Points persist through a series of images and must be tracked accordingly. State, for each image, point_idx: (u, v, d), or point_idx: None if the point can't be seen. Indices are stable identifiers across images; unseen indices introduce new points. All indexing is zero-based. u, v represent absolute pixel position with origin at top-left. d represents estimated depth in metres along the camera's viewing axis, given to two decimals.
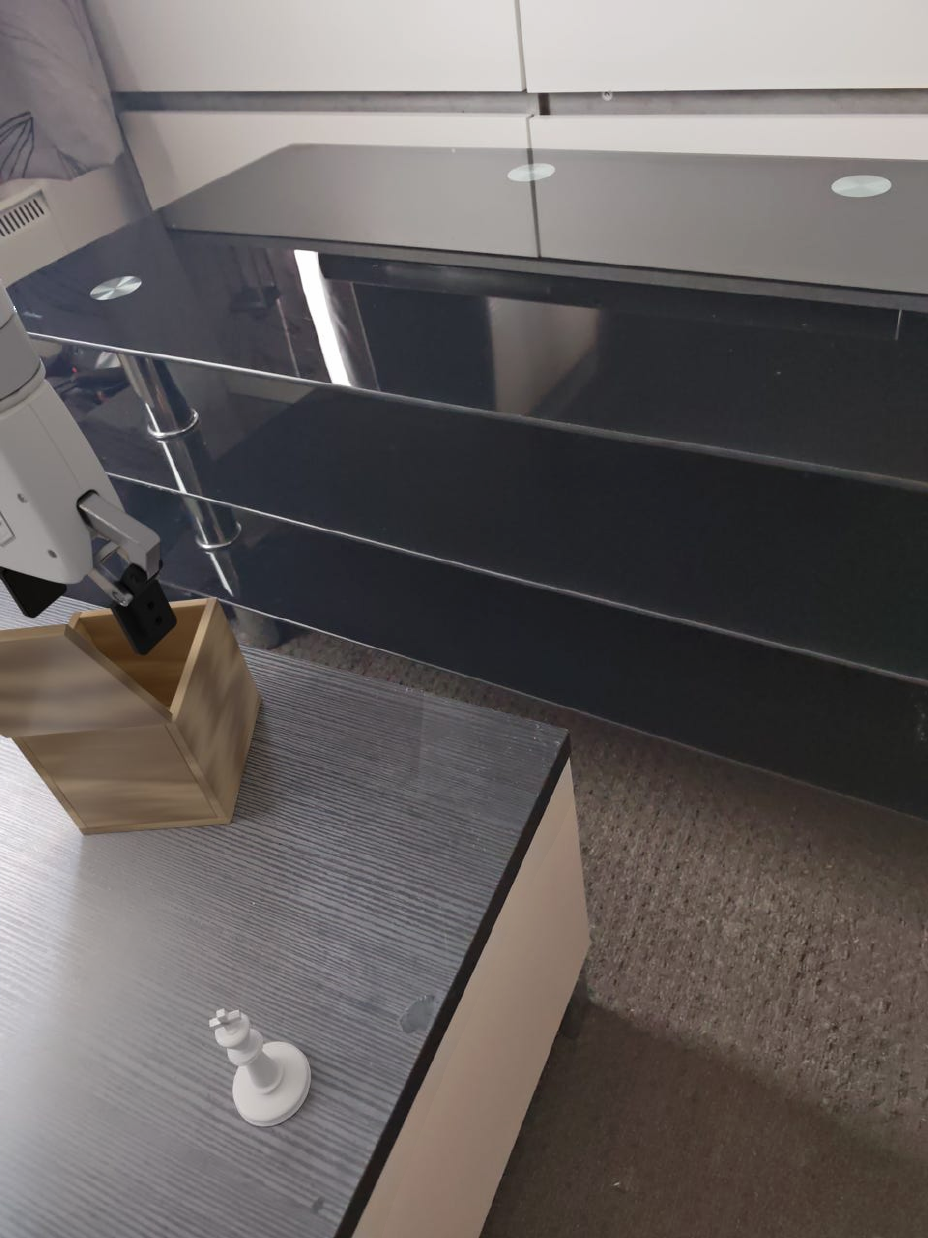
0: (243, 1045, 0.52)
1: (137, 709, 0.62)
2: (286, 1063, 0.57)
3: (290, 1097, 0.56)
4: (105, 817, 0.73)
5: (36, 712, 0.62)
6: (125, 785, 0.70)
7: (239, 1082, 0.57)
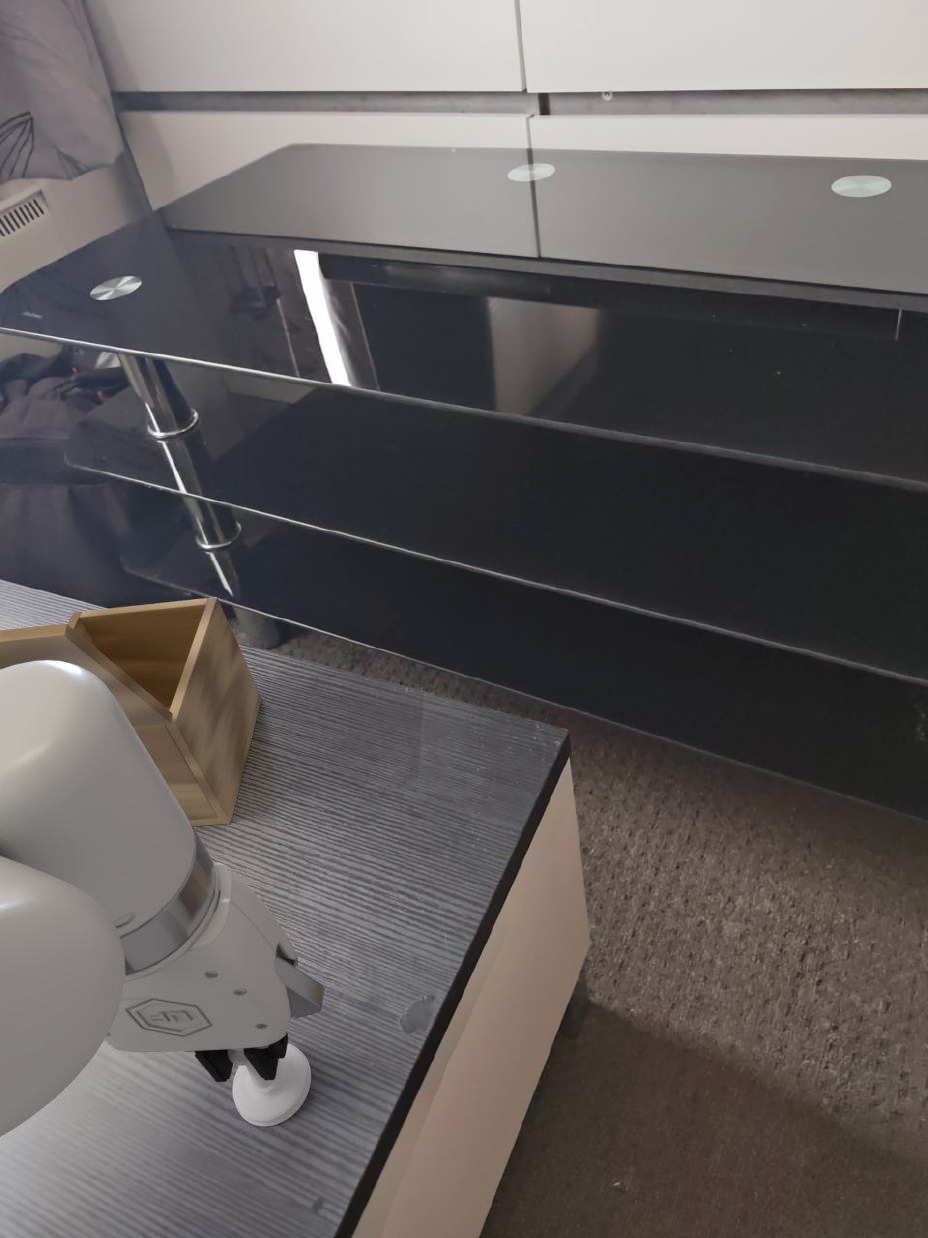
0: None
1: (137, 709, 0.62)
2: (286, 1063, 0.57)
3: (290, 1097, 0.56)
4: None
5: None
6: None
7: (239, 1082, 0.57)
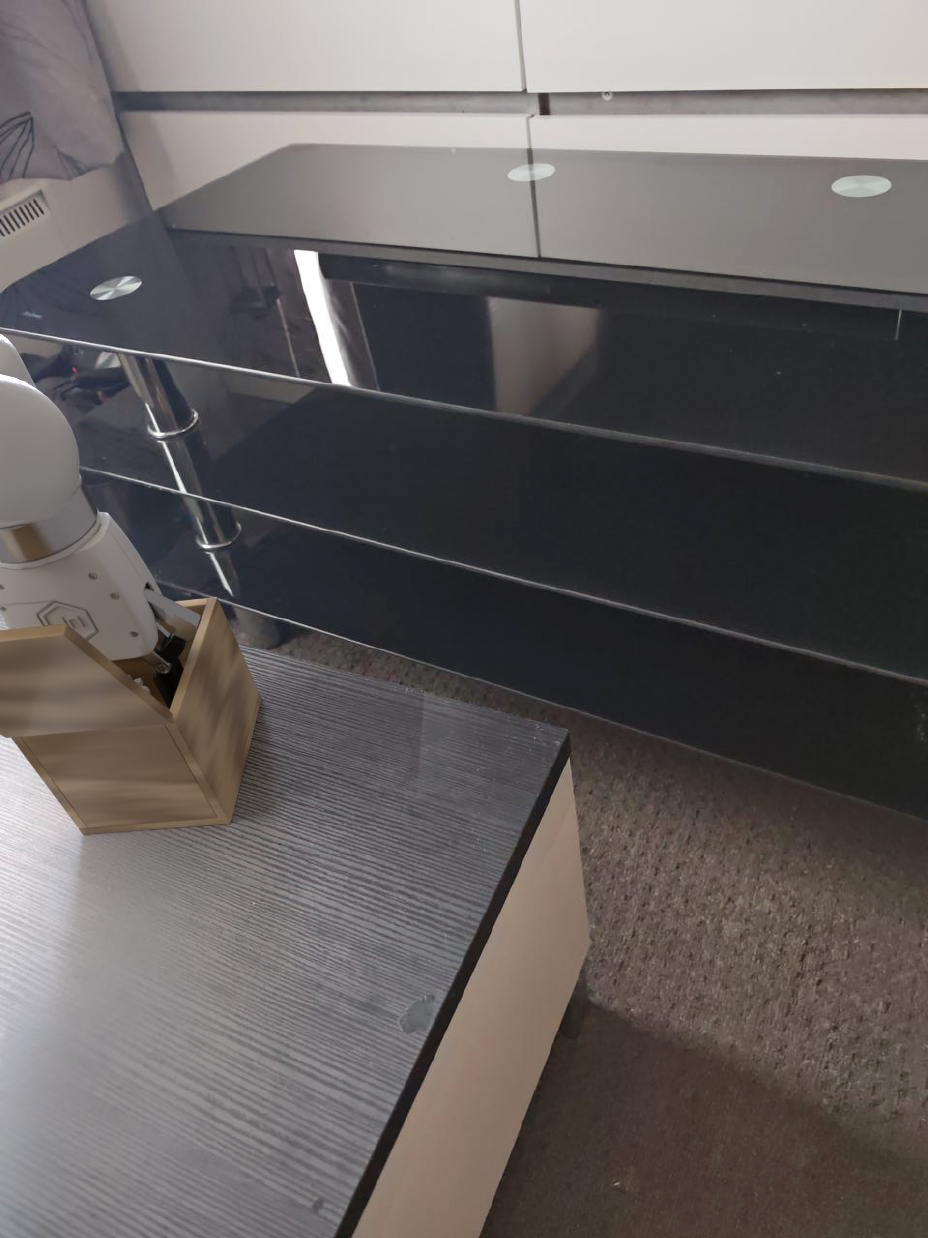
0: None
1: (137, 709, 0.62)
2: None
3: None
4: (105, 817, 0.73)
5: (36, 712, 0.62)
6: (125, 785, 0.70)
7: None
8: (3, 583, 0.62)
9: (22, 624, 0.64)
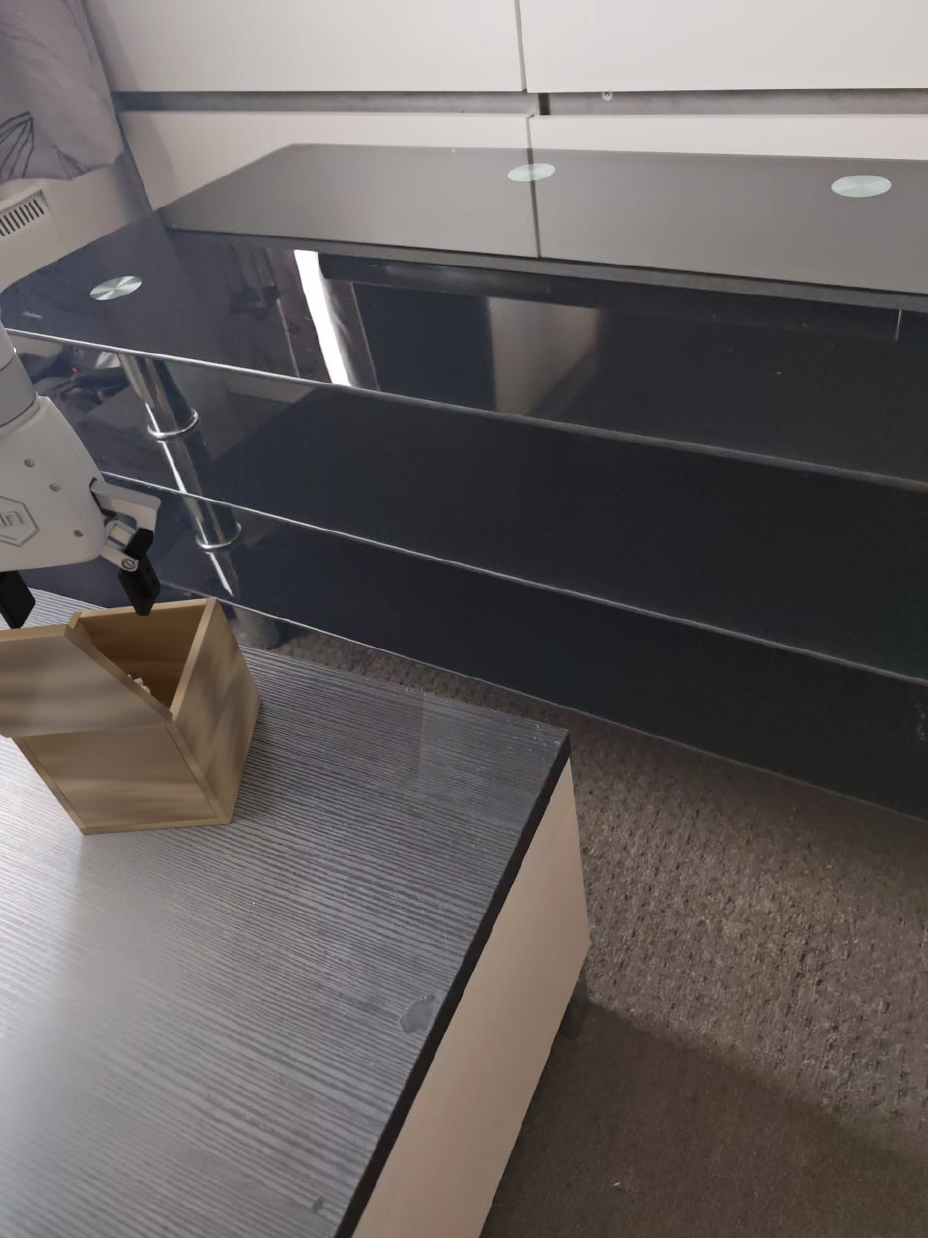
0: None
1: (137, 709, 0.62)
2: None
3: None
4: (105, 817, 0.73)
5: (36, 712, 0.62)
6: (125, 785, 0.70)
7: None
8: None
9: None
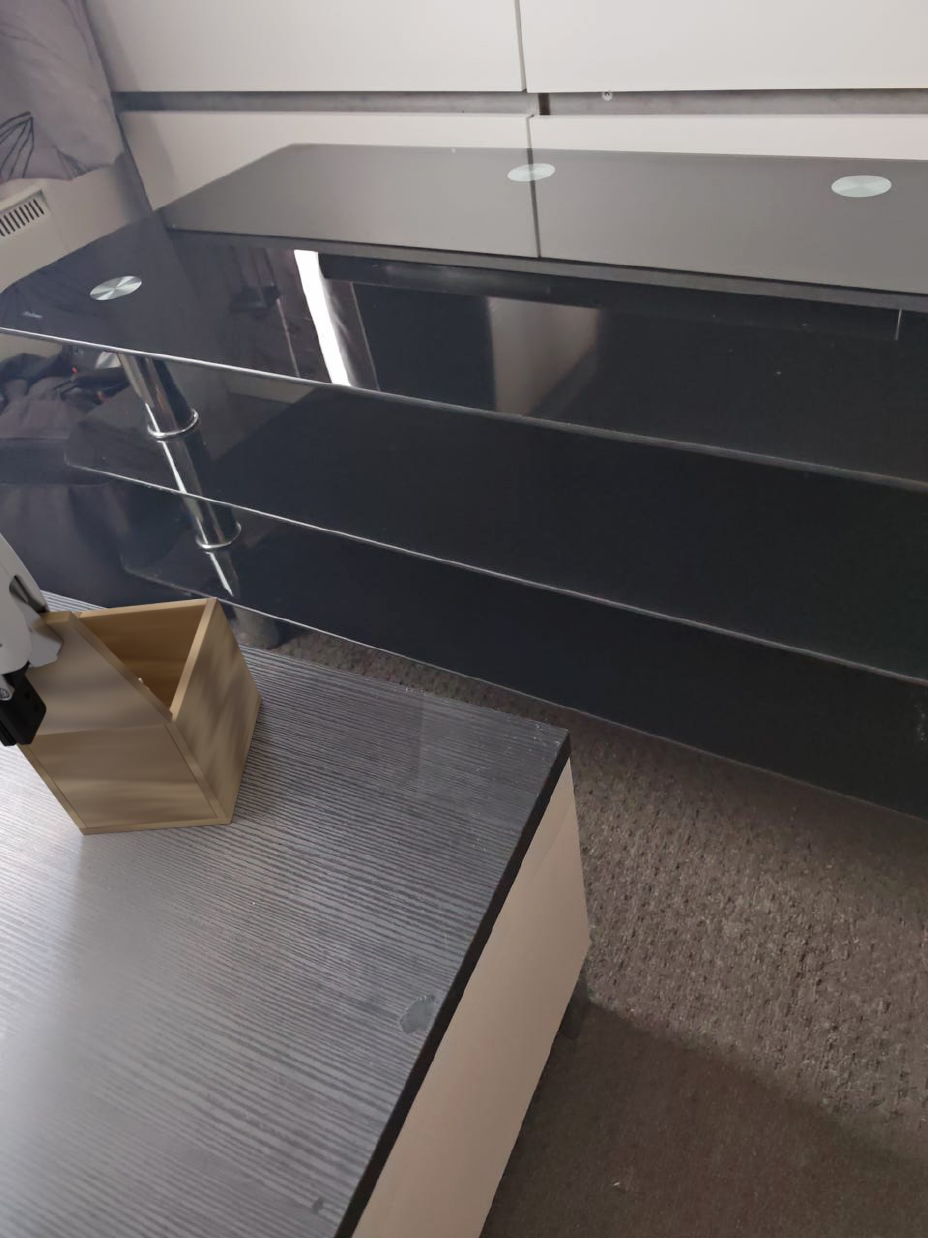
0: None
1: (137, 706, 0.62)
2: None
3: None
4: (105, 817, 0.73)
5: None
6: (125, 785, 0.70)
7: None
8: None
9: None
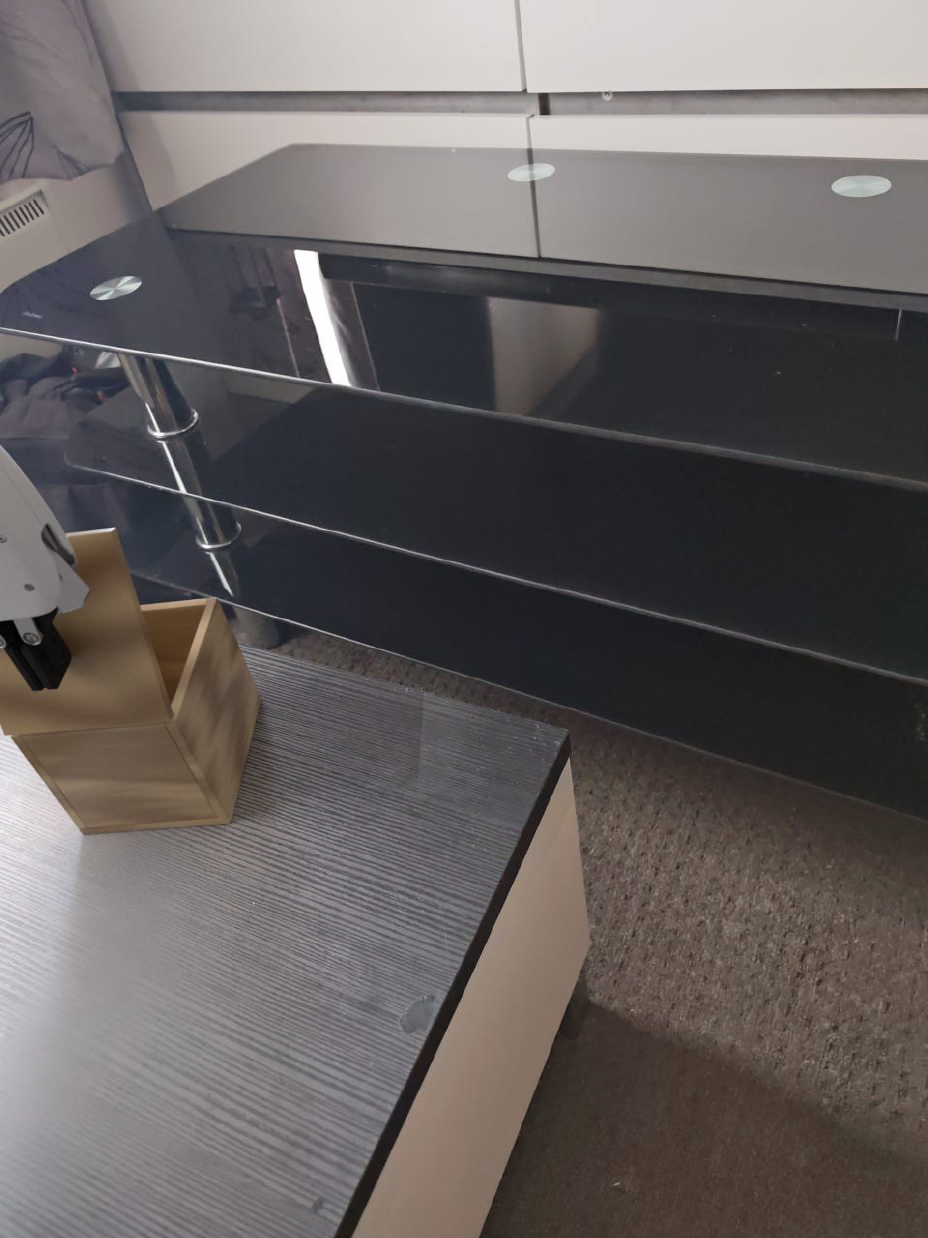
0: None
1: (143, 685, 0.63)
2: None
3: None
4: (105, 817, 0.73)
5: None
6: (125, 785, 0.70)
7: None
8: None
9: None
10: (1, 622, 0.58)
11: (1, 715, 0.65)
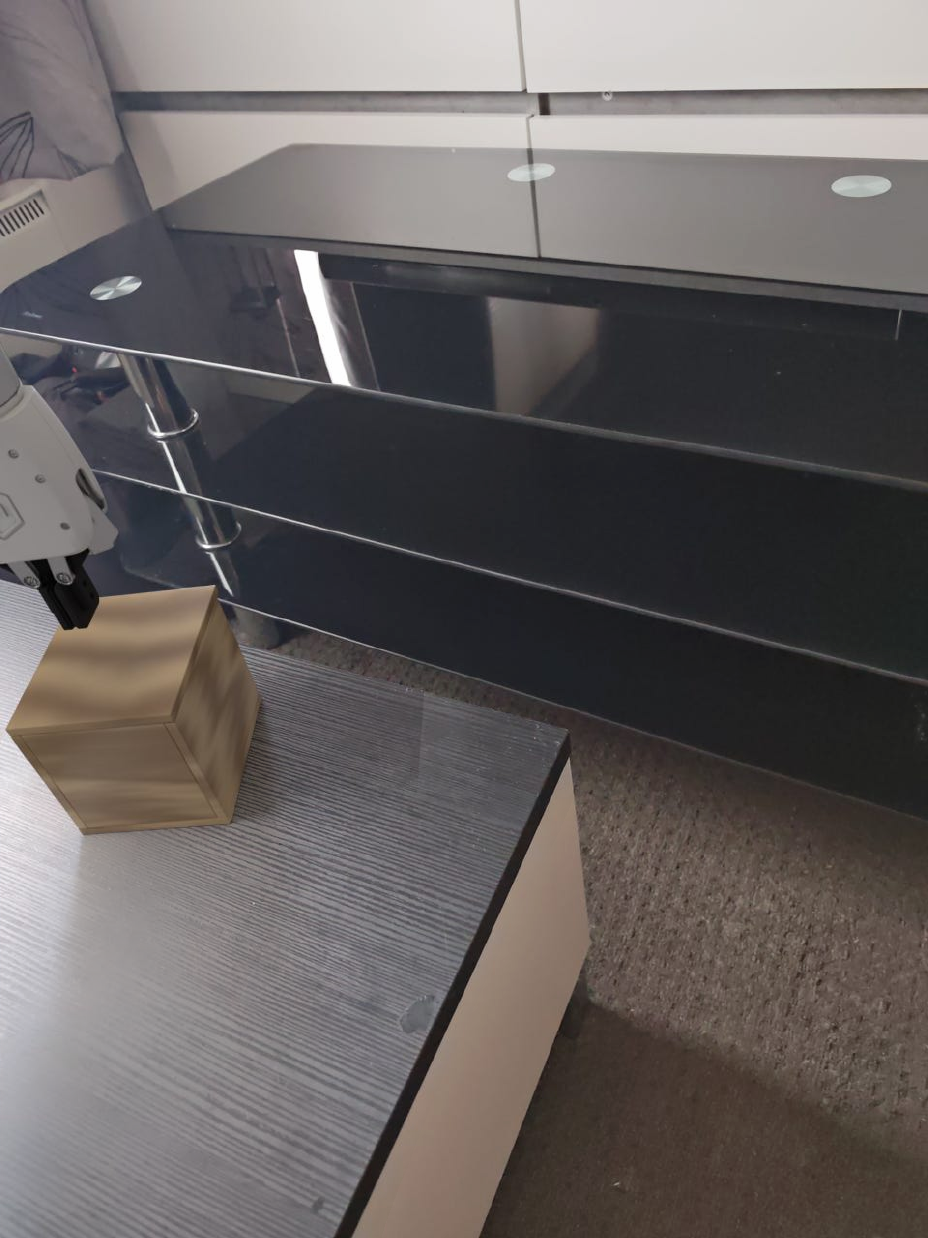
0: None
1: (167, 685, 0.67)
2: None
3: None
4: (105, 817, 0.73)
5: (85, 683, 0.68)
6: (125, 785, 0.70)
7: None
8: None
9: None
10: (35, 564, 0.63)
11: (18, 711, 0.67)
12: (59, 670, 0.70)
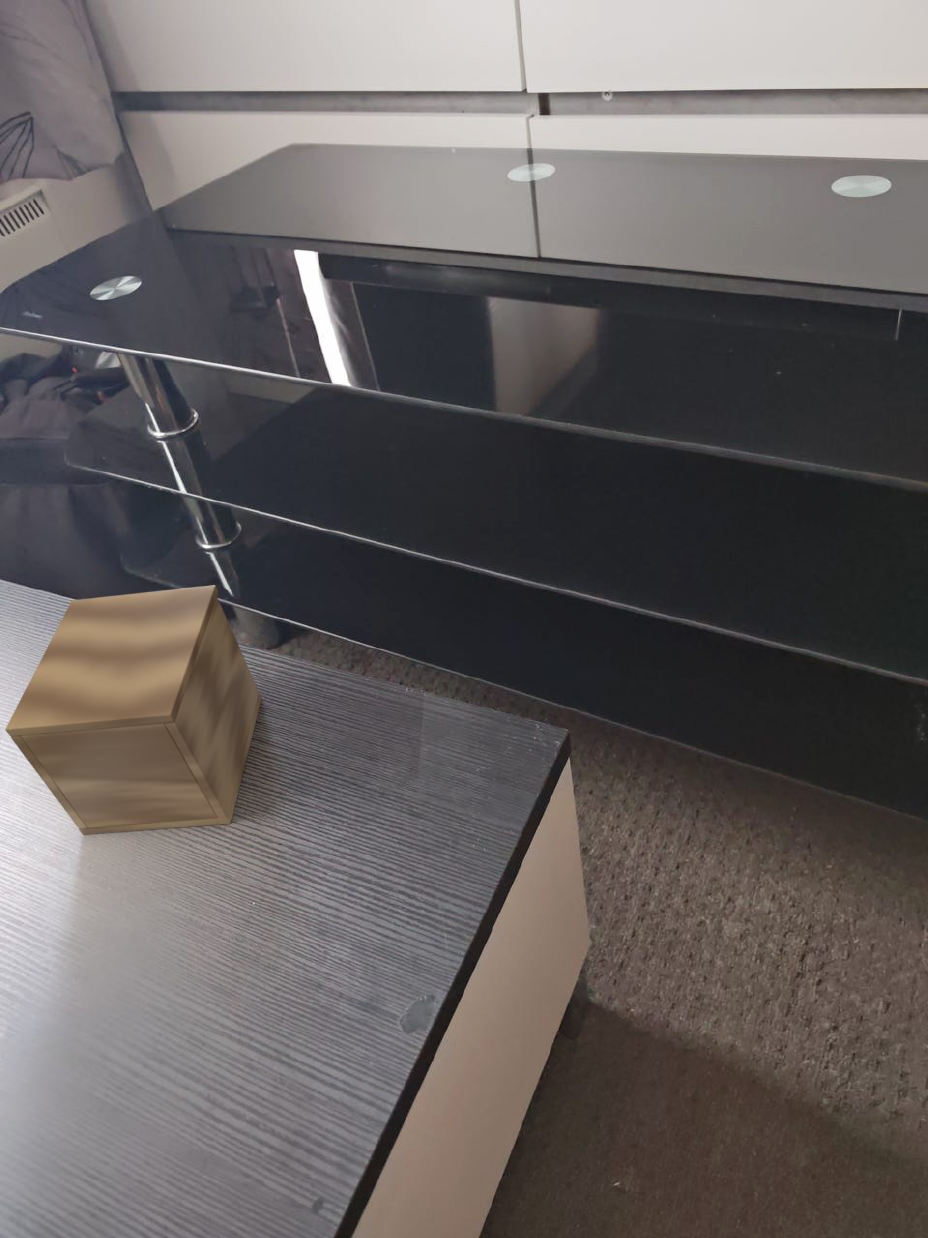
0: None
1: (167, 685, 0.67)
2: None
3: None
4: (105, 817, 0.73)
5: (85, 683, 0.68)
6: (125, 785, 0.70)
7: None
8: None
9: None
10: None
11: (18, 711, 0.67)
12: (59, 670, 0.70)
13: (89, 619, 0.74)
